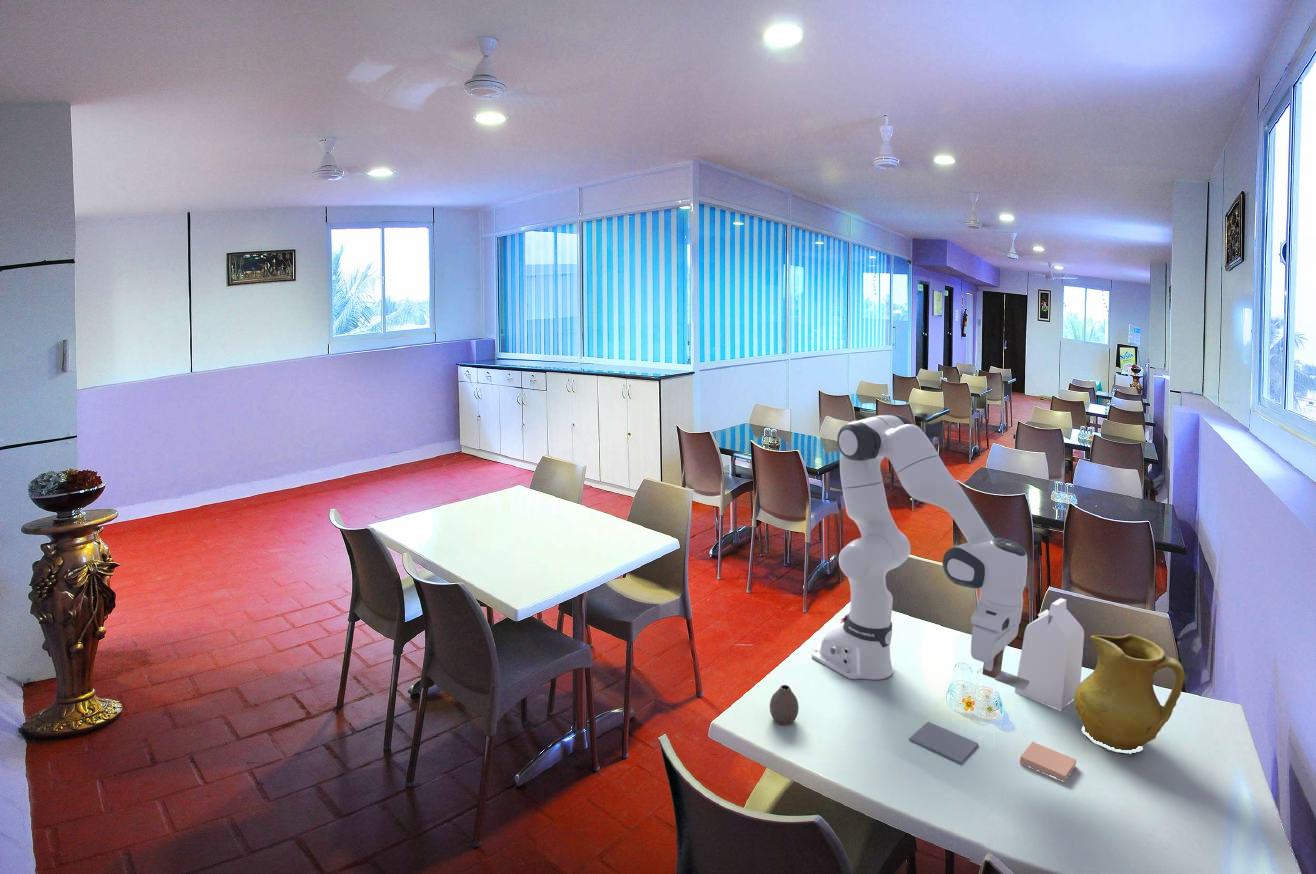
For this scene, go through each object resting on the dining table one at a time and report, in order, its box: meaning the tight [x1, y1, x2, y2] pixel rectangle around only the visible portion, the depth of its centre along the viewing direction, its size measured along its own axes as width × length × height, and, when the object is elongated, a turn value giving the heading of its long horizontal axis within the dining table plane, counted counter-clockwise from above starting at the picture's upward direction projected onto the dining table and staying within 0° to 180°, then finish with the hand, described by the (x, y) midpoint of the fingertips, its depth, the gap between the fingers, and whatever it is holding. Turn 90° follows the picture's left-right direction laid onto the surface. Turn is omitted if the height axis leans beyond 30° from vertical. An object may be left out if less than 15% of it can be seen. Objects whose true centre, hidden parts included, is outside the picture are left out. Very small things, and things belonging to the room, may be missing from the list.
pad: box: [908, 721, 979, 765], centre depth 160 cm, size 12×10×1 cm
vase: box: [769, 684, 800, 726], centre depth 167 cm, size 7×7×9 cm
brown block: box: [981, 650, 1029, 690], centre depth 157 cm, size 9×4×6 cm, turn 45°
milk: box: [1014, 597, 1085, 711], centre depth 181 cm, size 12×12×26 cm
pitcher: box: [1073, 633, 1185, 750], centre depth 161 cm, size 17×19×25 cm
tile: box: [1019, 741, 1077, 783], centre depth 153 cm, size 2×8×9 cm
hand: (992, 665), depth 160 cm, fingers closed on brown block, 3 cm apart
